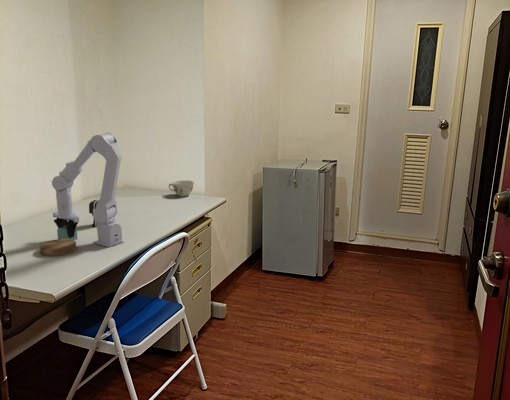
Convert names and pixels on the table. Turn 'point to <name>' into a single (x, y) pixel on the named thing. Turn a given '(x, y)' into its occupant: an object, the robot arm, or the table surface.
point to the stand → (58, 247)
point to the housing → (65, 233)
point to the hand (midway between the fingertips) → (67, 236)
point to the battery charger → (91, 208)
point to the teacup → (182, 187)
